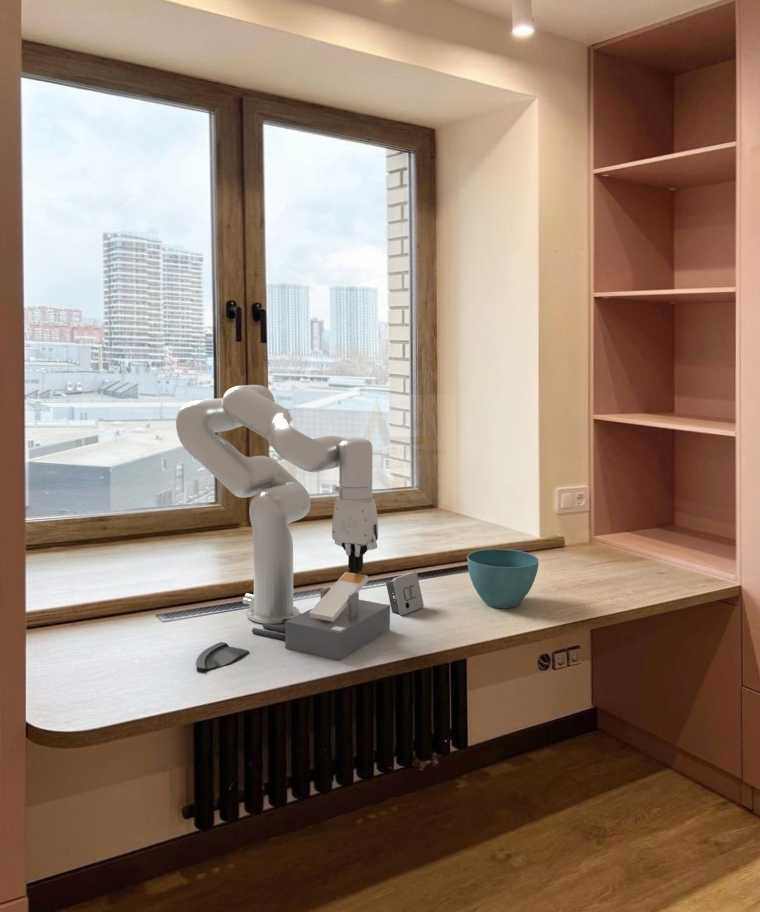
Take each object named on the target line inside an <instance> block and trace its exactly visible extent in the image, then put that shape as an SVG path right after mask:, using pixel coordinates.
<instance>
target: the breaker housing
mask: <svg viewBox="0 0 760 912" xmlns="http://www.w3.org/2000/svg"><path fill="white" fill-rule="evenodd" d="M330 589H331V587H329V586H328V587H325V588H323V589H320V600H321V599H322V598H323V596H324V595H325V594H326V593H327V592H328V591H329V590H330ZM359 595H360V593H359V592H355V593H353V594H351V595H349V604H348V605H347V606H346V607H345V609H344V610H343V611H342V612H341V613H340V614H339V616H338V617H337V618H336V619H335V620H334V622H332V621H327V620H322V619H318V618H313V617H310V614H309V612H310V611H311V610H312V609H313V608H314V607H313V608H311V609H307V611H304V612H301V613H300V615H298V616H296V617H294V618H291V619H289V620H287V621H285V624H284V627H285V633H284V634H285V640H284V644H285V645H284V647H285V649H287V650H292V651H295V652H302V653H305V654H310V655H313V656H318V657H322V658H327V659H332V660H335V661H342V660H343V659H345V658H347V657H349V655H351V654H353V653H355V652H356V651H359V650H360V649H361V648H363V647H364V646H367V645H368V644H369V643H371V642H372V641H375V640H376V639H378V638H379V637H381V636H383V635H384V634H386V633H388V632H390V629H391V628H390V627H391V605H390V604H385V603H381V602H374V601H369V600H365V599H360V598H359V597H360V596H359ZM387 631H388V632H387ZM382 634H383V635H382Z"/></svg>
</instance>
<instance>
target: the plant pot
mask: <svg viewBox="0 0 760 912" xmlns="http://www.w3.org/2000/svg"><path fill="white" fill-rule="evenodd" d="M466 560H467V569H468V574H469V577H470V581H471V582H472V585H473V588H474V589H475V591H476V593H477V594H478V595H479V597H480V599H481V600H482V601H483V602H484V603H485V605H487V606H488V607H492V608H496V609H511V607H512V608H515V607H517V606H518V605H519V604H520V603H521V602H522V601H523V600H524V599H525V597H526V596H527V595H528V594H529V592H530V590H531V588H532V587H533V585H534V582H535V580H536V576H537V573H538V570H539V562H540V559H539V558H538V557H537V556H536V555H534V554H531V553H529V552H525V551H520V550H516V549H507V548H506V549H504V548H492V549H491V548H488V549H479V550H476V551H475V550H474V551H472V552H470V553H468V555H467V557H466Z"/></svg>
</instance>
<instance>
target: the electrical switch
mask: <svg viewBox="0 0 760 912" xmlns="http://www.w3.org/2000/svg"><path fill="white" fill-rule="evenodd" d="M385 584H386V590H387V593H388V594H387V595H388V598H389V605H390V610H391V612H392V613H393V614H394V613H397V614H398V613H399V615H400V616H406V615H407V614H410V613H412V612H414V611H418V610H420V609H422V608H424V600H423V595H422V591H421V590H422V589H421V586H420V581H419V577H418V573H417V572H416V571H411V572H408V573H405V574H402V575H399V576H397V577H393V579H392V580H388V581H386V582H385Z"/></svg>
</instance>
